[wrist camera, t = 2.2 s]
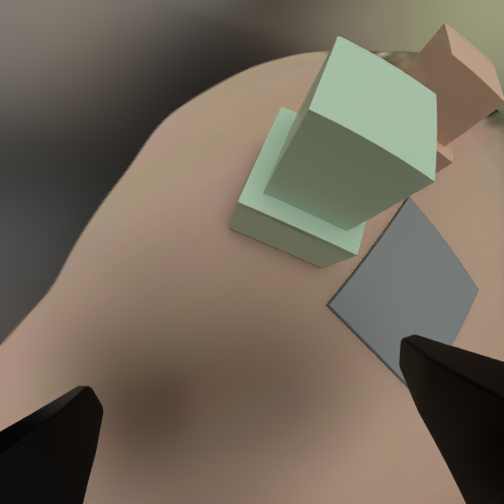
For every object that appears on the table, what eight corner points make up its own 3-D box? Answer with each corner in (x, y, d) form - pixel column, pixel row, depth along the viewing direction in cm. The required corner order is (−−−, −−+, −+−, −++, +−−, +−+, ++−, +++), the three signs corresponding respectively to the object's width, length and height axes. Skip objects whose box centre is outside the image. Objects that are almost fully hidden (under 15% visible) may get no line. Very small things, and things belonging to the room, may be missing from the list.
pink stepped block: (416, 185, 24) (516, 121, 12) (352, 147, 23) (440, 52, 11) (421, 131, 25) (498, 65, 13) (364, 96, 25) (432, 10, 13)
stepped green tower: (321, 267, 21) (451, 218, 9) (229, 228, 20) (267, 118, 8) (346, 185, 22) (450, 94, 10) (265, 147, 22) (320, 17, 10)
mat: (416, 395, 20) (419, 397, 20) (326, 305, 20) (329, 305, 20) (475, 290, 23) (478, 289, 23) (406, 198, 23) (409, 196, 23)
